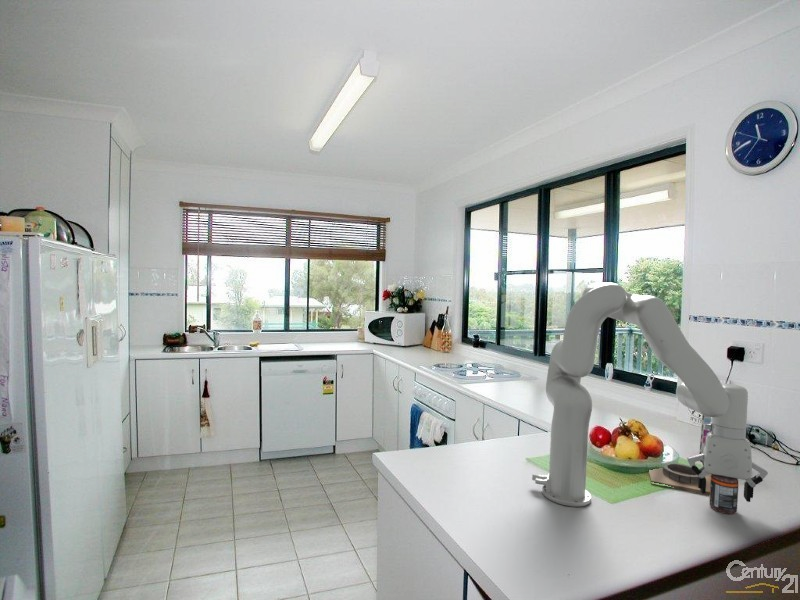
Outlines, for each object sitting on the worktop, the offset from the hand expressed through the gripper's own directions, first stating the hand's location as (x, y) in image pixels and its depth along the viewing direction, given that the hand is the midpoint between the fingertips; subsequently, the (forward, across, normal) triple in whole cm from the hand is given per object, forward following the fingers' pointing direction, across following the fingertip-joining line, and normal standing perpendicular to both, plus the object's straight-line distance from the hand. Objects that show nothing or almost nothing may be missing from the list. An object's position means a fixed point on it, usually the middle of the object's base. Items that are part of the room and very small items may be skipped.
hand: (724, 495), depth 118 cm
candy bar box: (+4, +4, +43) cm, 43 cm away
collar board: (+4, -7, +17) cm, 19 cm away
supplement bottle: (+4, 0, 0) cm, 4 cm away
